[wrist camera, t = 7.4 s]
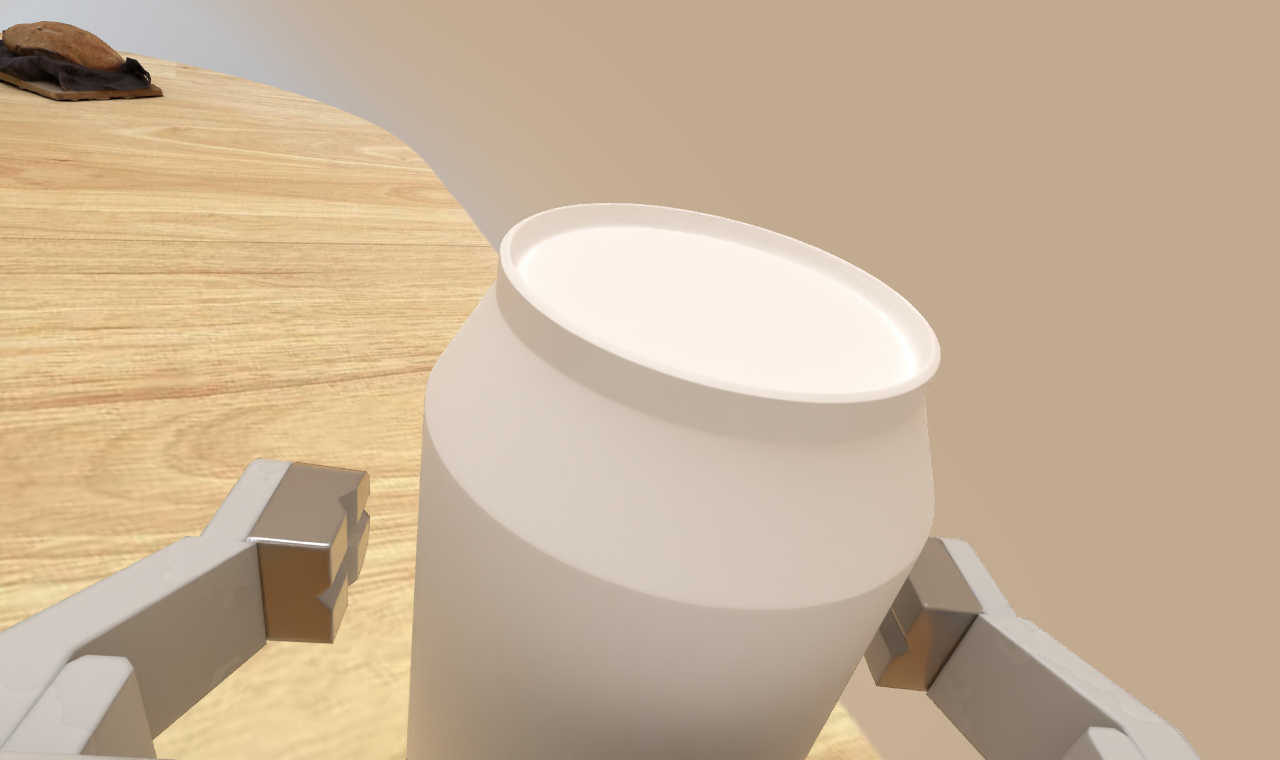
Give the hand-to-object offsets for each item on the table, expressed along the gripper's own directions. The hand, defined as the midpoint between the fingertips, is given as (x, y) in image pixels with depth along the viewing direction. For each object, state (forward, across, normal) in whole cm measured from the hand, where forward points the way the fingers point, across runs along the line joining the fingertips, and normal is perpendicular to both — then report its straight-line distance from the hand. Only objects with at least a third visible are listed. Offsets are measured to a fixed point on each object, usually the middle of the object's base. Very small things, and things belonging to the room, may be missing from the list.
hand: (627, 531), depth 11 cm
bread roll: (+48, +38, +8) cm, 62 cm away
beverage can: (-1, 0, +7) cm, 7 cm away
